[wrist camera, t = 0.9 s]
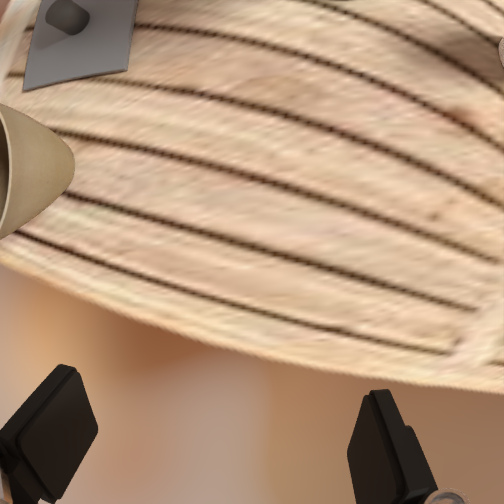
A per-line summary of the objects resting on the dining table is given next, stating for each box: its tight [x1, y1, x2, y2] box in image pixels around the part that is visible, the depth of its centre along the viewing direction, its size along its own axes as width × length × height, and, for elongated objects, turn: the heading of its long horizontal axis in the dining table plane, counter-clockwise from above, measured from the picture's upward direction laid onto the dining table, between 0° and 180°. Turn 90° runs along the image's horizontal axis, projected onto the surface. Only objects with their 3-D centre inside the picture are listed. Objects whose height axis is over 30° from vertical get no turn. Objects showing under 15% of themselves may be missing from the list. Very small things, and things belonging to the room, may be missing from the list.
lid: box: [23, 0, 138, 91], centre depth 28 cm, size 17×17×6 cm
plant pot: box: [0, 104, 75, 240], centre depth 28 cm, size 15×15×16 cm
